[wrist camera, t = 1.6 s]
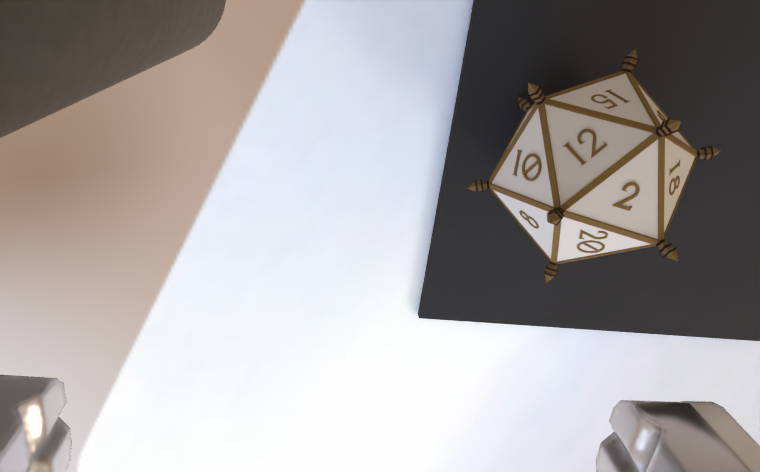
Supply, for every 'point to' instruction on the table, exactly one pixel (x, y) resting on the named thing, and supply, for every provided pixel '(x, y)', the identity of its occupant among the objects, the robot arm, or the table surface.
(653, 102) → the game die
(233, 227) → the table surface
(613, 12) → the mat
